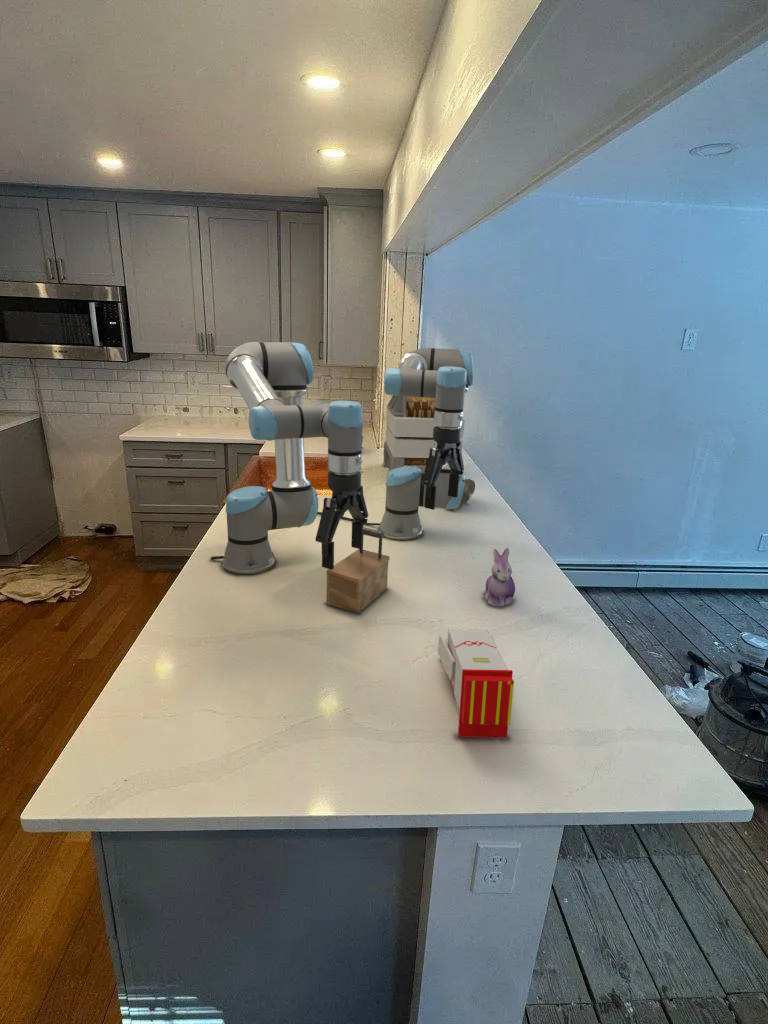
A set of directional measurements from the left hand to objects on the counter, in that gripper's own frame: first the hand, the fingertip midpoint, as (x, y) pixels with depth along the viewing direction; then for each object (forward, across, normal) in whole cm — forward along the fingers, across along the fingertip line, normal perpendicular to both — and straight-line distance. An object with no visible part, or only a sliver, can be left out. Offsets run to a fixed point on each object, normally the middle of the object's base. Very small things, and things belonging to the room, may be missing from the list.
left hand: (342, 557), depth 135 cm
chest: (+18, +15, +4) cm, 24 cm away
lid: (+10, +16, +4) cm, 19 cm away
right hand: (-6, +35, -11) cm, 37 cm away
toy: (+19, -9, -36) cm, 42 cm away
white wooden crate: (+18, +139, +38) cm, 146 cm away
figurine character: (+18, +159, +84) cm, 181 cm away
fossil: (+18, +106, +7) cm, 108 cm away
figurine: (+18, +34, -31) cm, 49 cm away
